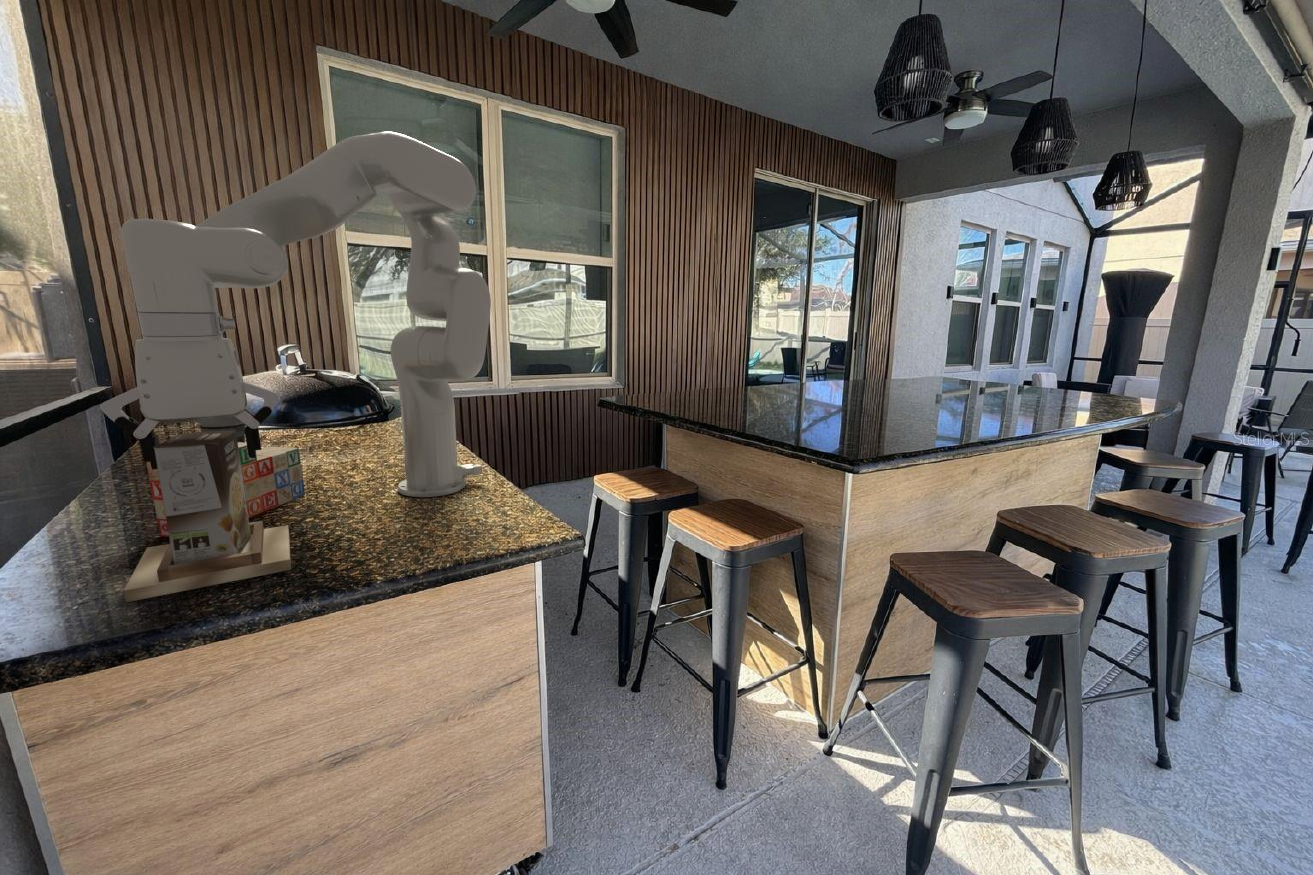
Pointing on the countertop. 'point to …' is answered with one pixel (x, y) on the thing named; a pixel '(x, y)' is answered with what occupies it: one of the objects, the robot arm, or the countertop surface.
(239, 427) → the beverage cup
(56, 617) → the countertop surface
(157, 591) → the base board
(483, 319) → the robot arm
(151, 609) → the countertop surface
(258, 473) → the stack of blocks
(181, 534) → the coffee box
